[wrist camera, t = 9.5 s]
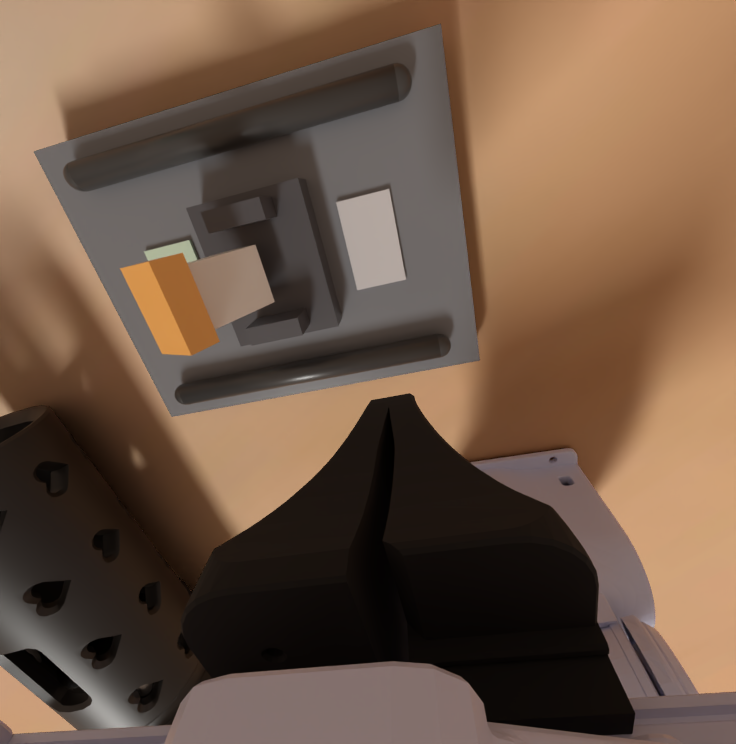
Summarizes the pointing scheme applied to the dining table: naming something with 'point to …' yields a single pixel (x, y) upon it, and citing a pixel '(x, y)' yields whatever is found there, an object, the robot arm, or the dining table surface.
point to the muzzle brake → (84, 588)
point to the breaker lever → (197, 296)
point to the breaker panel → (331, 175)
